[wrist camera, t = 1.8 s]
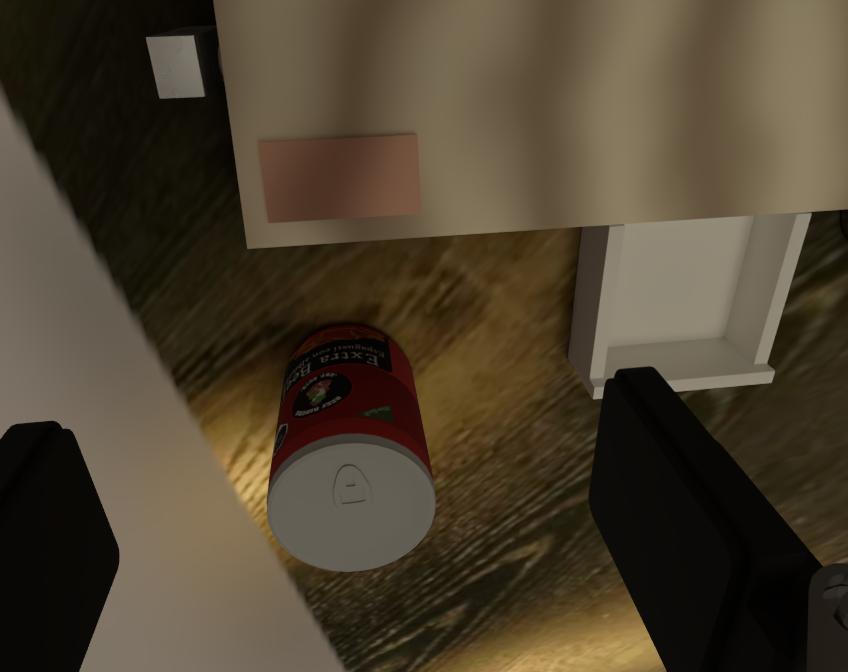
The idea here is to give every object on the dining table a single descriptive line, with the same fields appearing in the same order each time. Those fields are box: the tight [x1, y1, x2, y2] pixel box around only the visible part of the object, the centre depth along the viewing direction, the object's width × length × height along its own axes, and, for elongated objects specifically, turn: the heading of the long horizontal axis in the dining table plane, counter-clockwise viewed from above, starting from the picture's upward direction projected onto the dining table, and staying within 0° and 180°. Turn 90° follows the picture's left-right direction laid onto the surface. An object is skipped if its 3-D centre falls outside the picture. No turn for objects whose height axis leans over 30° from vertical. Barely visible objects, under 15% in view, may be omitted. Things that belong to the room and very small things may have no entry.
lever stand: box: [146, 25, 224, 99], centre depth 26 cm, size 31×2×7 cm, turn 91°
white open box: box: [568, 212, 812, 399], centre depth 34 cm, size 11×11×4 cm
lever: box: [213, 0, 848, 249], centre depth 23 cm, size 26×14×4 cm, turn 91°
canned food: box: [267, 324, 435, 572], centre depth 32 cm, size 8×8×11 cm
